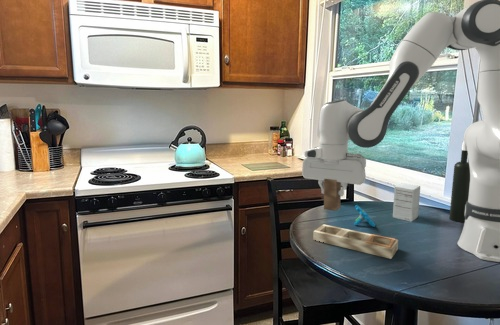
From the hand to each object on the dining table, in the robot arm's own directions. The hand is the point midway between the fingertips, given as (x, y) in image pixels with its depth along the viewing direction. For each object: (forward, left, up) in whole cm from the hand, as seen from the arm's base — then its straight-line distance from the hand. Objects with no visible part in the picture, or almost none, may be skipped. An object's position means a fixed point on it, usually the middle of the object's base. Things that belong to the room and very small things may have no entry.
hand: (332, 194), depth 111 cm
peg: (0, 0, -5) cm, 5 cm away
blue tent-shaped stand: (-5, -19, -16) cm, 25 cm away
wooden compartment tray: (-8, 0, -15) cm, 17 cm away
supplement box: (-16, -36, -16) cm, 42 cm away
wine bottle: (-33, -44, -16) cm, 57 cm away
